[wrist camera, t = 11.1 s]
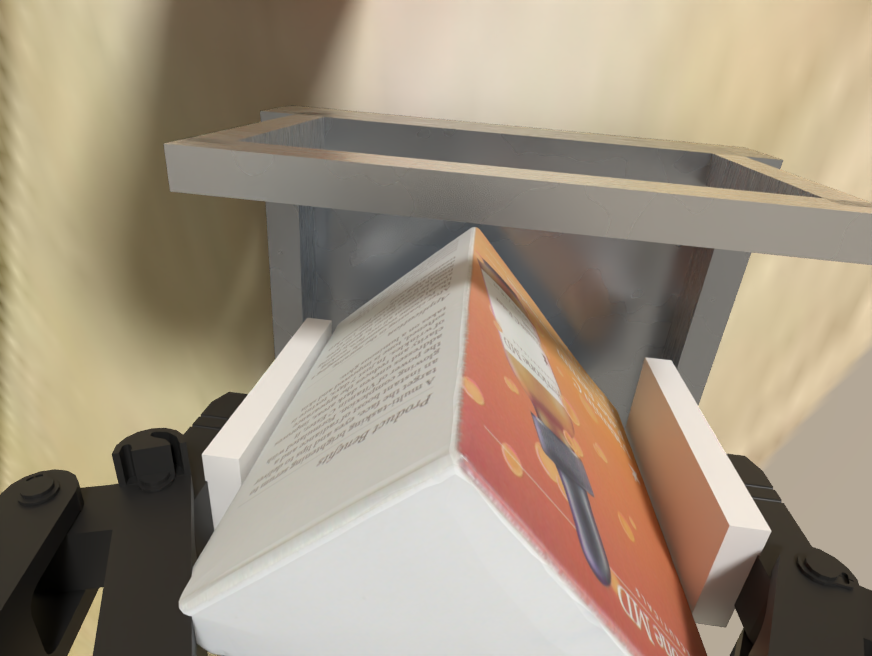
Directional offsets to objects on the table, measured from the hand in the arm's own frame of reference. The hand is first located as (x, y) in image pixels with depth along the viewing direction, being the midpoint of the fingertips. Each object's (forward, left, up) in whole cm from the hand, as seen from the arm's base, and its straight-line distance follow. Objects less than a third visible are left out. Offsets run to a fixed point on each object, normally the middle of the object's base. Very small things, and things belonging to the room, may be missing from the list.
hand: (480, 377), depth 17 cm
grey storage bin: (0, 0, -5) cm, 5 cm away
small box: (0, 0, -1) cm, 1 cm away
